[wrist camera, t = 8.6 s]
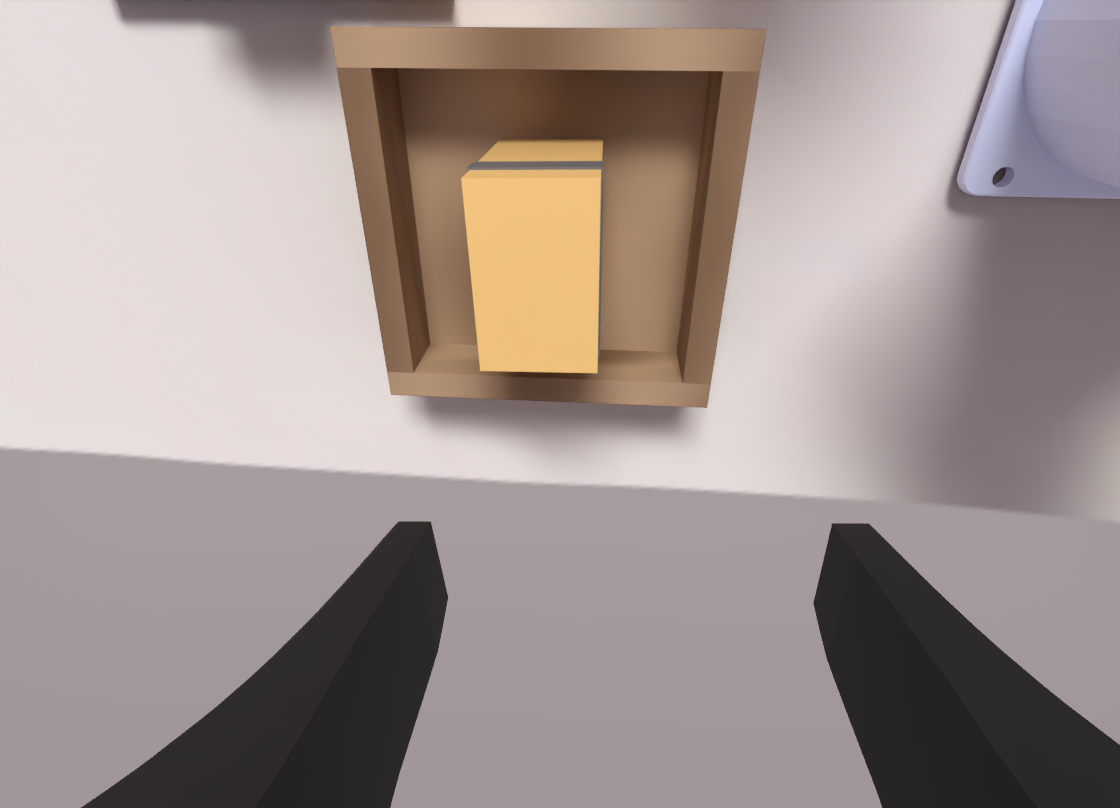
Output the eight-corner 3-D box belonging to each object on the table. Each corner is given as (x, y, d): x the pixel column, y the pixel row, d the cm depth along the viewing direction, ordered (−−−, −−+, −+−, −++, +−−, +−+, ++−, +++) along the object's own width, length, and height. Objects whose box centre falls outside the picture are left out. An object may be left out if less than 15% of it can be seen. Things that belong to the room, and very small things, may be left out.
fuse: (605, 136, 16) (603, 175, 12) (601, 296, 19) (599, 375, 14) (497, 138, 16) (458, 175, 12) (508, 294, 19) (478, 372, 14)
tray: (743, 28, 15) (766, 28, 13) (696, 366, 20) (706, 407, 18) (369, 27, 16) (329, 26, 14) (414, 356, 21) (391, 394, 19)
